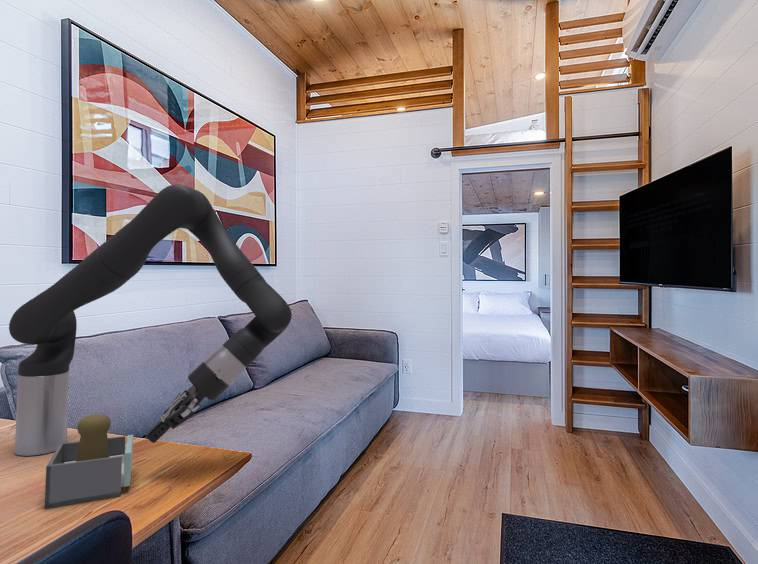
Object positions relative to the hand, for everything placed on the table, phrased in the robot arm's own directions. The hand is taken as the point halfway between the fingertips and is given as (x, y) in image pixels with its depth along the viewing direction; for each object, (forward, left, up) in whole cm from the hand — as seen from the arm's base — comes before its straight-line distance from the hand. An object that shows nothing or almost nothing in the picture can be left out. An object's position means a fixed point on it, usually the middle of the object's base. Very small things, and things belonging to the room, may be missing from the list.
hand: (149, 439), depth 85 cm
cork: (+3, -9, -6) cm, 11 cm away
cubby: (+3, -9, -8) cm, 12 cm away
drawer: (+3, -8, -6) cm, 11 cm away
